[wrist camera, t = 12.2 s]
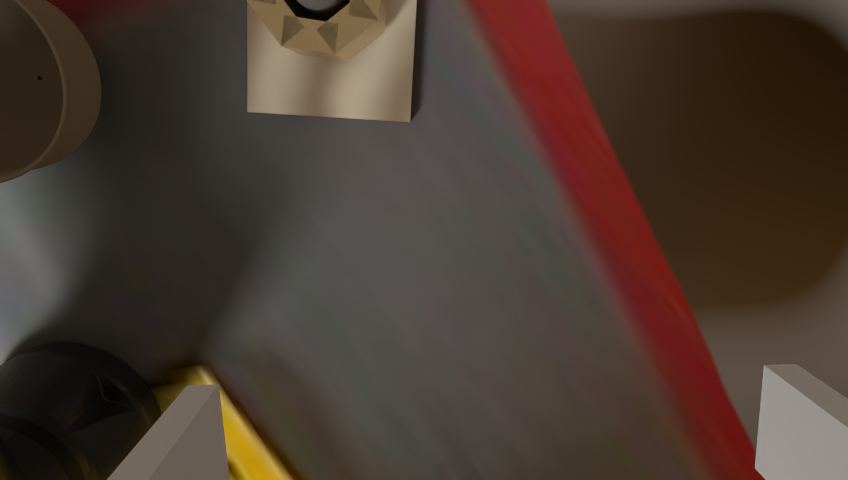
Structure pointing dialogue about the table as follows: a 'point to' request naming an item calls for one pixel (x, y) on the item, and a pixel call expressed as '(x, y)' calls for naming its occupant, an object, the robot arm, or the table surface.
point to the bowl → (43, 87)
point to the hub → (334, 70)
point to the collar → (324, 27)
